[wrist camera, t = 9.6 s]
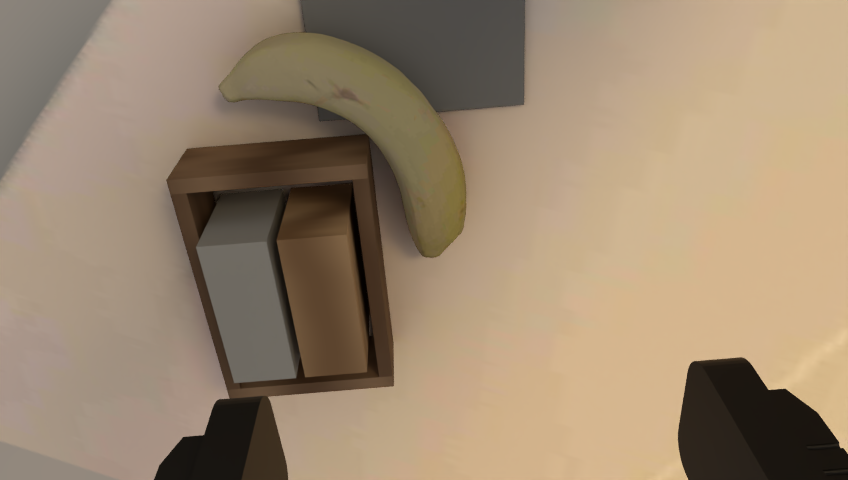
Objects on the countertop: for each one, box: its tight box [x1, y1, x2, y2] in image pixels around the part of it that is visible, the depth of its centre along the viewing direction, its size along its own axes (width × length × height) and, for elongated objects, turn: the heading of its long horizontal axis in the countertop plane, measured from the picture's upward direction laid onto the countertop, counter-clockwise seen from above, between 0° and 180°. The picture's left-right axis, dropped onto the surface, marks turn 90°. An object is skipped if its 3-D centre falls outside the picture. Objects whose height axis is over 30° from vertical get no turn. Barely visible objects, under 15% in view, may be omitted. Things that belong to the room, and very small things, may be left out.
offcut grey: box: [196, 189, 300, 383], centre depth 39 cm, size 4×9×6 cm, turn 4°
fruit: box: [219, 32, 466, 258], centre depth 36 cm, size 7×15×3 cm, turn 45°
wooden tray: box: [166, 134, 394, 399], centre depth 39 cm, size 10×15×4 cm
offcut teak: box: [276, 183, 370, 377], centre depth 39 cm, size 4×9×6 cm, turn 4°
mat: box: [301, 0, 525, 121], centre depth 34 cm, size 11×10×1 cm
